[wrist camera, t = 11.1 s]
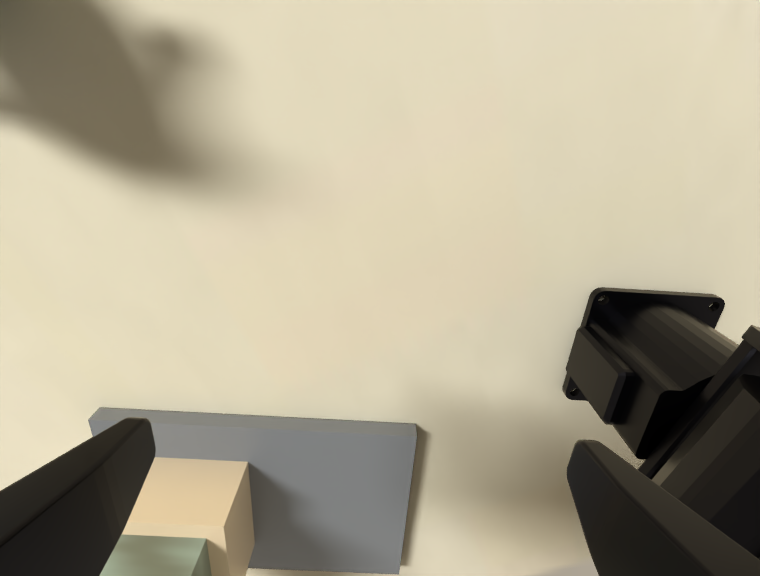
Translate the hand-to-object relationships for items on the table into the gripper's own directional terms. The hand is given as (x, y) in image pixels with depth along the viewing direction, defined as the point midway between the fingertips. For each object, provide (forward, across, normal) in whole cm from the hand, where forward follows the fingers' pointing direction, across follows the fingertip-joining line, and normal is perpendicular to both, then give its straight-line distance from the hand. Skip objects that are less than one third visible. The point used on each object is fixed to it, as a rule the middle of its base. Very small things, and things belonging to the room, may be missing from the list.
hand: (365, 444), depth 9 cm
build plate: (+12, +6, +16) cm, 21 cm away
